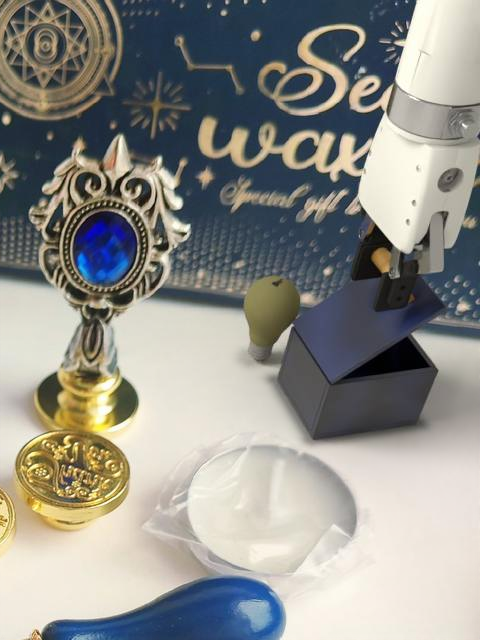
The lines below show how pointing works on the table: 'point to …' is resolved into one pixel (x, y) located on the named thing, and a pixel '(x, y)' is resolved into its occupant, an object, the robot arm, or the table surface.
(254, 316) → the light bulb
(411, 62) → the robot arm
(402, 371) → the box
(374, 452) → the table surface
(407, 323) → the lid
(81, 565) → the table surface
